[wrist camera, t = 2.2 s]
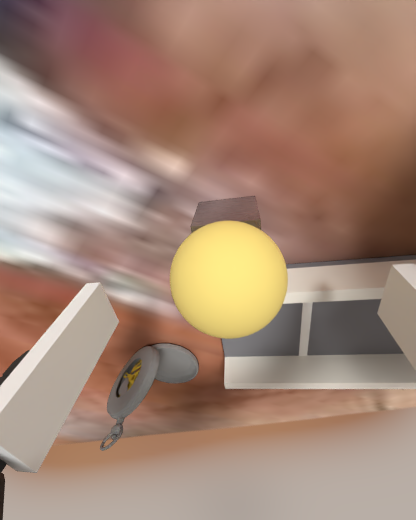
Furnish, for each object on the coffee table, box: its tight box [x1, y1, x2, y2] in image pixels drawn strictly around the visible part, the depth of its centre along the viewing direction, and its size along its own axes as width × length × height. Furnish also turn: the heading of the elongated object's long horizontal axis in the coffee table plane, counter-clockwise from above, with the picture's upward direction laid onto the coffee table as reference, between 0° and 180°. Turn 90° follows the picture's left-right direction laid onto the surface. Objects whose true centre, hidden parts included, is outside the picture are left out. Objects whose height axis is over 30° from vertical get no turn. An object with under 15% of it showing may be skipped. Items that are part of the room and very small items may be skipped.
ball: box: [170, 221, 288, 339], centre depth 13 cm, size 6×6×6 cm
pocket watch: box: [100, 343, 199, 451], centre depth 23 cm, size 8×8×10 cm
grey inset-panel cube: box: [191, 196, 261, 233], centre depth 17 cm, size 4×4×4 cm
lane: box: [222, 255, 416, 389], centre depth 21 cm, size 24×12×4 cm, turn 99°
